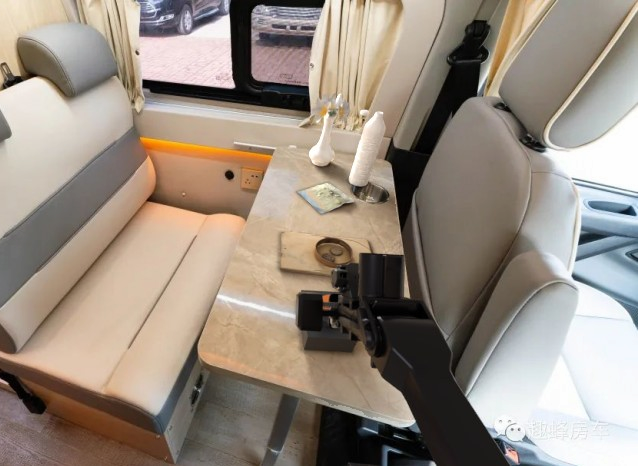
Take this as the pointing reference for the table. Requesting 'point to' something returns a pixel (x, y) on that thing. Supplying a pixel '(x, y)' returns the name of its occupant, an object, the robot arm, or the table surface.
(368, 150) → the water bottle
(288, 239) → the board
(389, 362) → the robot arm
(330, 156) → the flower vase
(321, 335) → the jug base
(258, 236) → the table surface
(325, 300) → the lid button
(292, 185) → the table surface
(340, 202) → the topographic map
